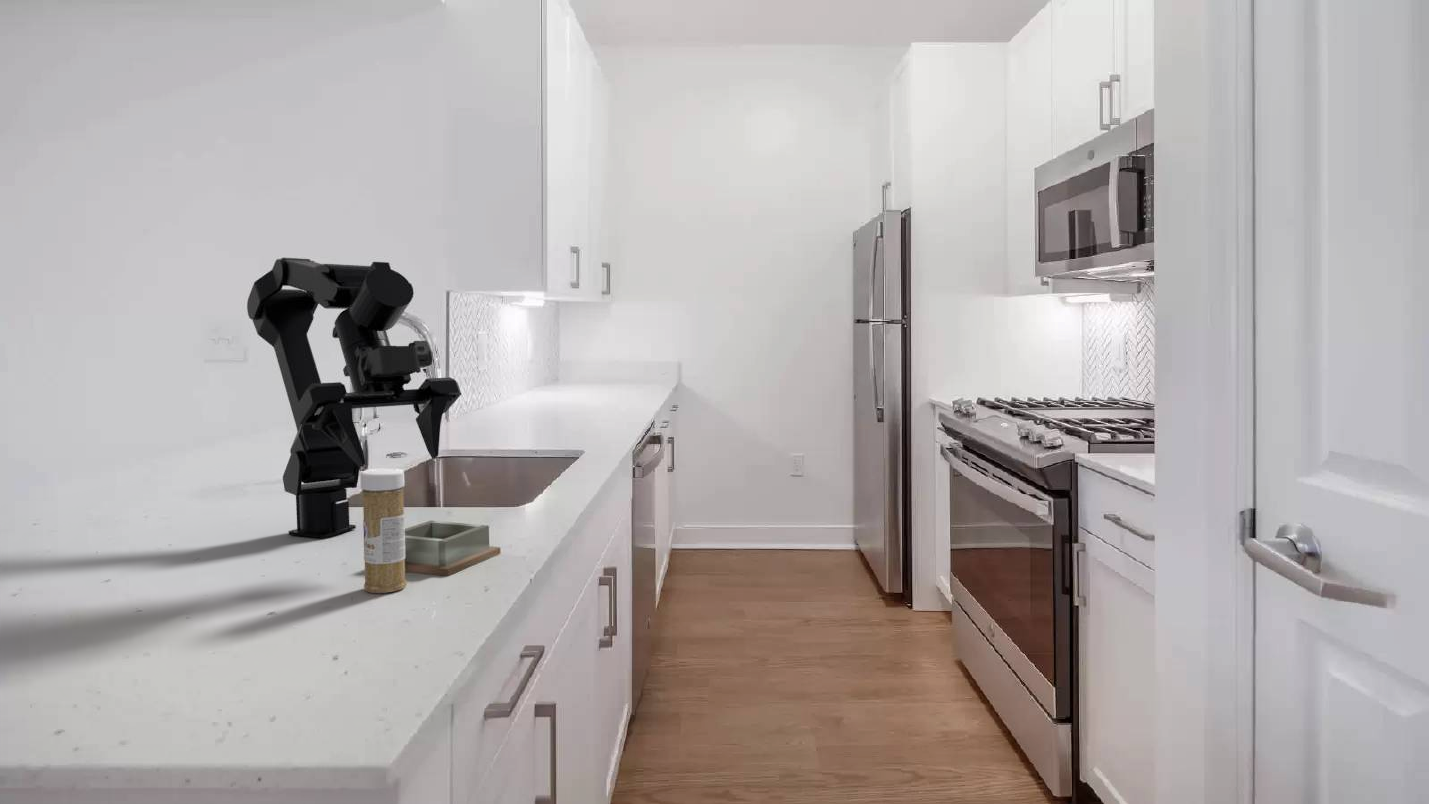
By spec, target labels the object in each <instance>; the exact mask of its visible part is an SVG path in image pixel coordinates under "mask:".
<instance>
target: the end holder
mask: <svg viewBox="0 0 1429 804" xmlns="http://www.w3.org/2000/svg"><path fill="white" fill-rule="evenodd" d="M500 554H501V547H500V546H493V545H490V525H488V524H487V525H486V524H474V523H466V522H465V523H463V522H453V521H452V522H451V521H442V520H440V521H439V520H428V521H424V522H422V523H419V524H416V525H415V524H414V525H413V526H409V527H407V528H405V572H409V573H418V574H429V575H436V576H444V577H448V576H452V575H453V574H456V573H458V572H461V571H463V570H466V569H467V568H470V567H472V566H474V565H477V564H479V563H481V562H484V561H487V560H488V559H491V558H493V557H496V556H498V555H500Z"/></svg>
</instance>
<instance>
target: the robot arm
mask: <svg viewBox="0 0 1429 804" xmlns="http://www.w3.org/2000/svg"><path fill="white" fill-rule="evenodd" d="M284 286H285V287H287V286H288V287H292V288H294V289H292V288H291V289H290V288H288V289H287V288H283V287H284ZM414 293H415V292H414V288H413V285H412V283H410V282H409V280H408V279H407V278H406V277H405V276H404V275H402V274H401V273H400V272H398V271H395V270H394V269H391V264H390V262H386V261H372V263H371V265H357V264H355V265H354V264H339V263H338V264H336V263H335V264H334V263H319V262H316V261H314V260H311V259H309V258H296V257H281V258H277V259H276V260H275V261H274V265H273V266H272V269H271V270H269V271H268V272H267V273H265V274H264V275H263V276H261V277H259V278H257V280H255V281H254V282H253V285H252V288H251V290H250V292H249V295H248V299H247V301H246V302H247V306H246V309H247V315H248V318H249V319H250V320H252V324H253V325H254V329H255V331H256V334H257V335H258V336H259V337H260V338H261V339H263V340H264V341H265V342H267V344H269V345H270V346H272V347H273V350H274V352H275V356H276V360H277V363H278V364H277V365H278V367H279V370H280V374H281V378H282V381H283V385H284V388H285V391H286V394H287V398H288V402H289V404H290V405H289V406H290V409H291V413H292V416H293V419H294V420H293V421H294V423H295V427H296V431H297V432H296V435H295V437H294V440H293V442H292V444H291V447H290V448H289V453H290V456H289V459H288V462H287V464H286V466H285V470H284V472H283V475H282V482H283V488H284V492H286V493H288V494H290V495H291V494H292V495H294V496H295V505H296V507H295V509H296V528H295V529H291V530H288V535H290V536H300V537H310V538H319V539H324V538H328V537H332V536H335V535H338V534H342V533H345V532H348V531H351V530H355V529H356V528H357V526H356V524H350V505H349V504H350V503H349V502H350V501H349V499H347V498H348V496H347V493H348V492H347V489H355V488H357V487H358V482H359V477H360V468H363V467H364V466H365V465H366V458H365V454H364V450H363V446H362V443H361V441H360V438H359V435H358V433H357V430H356V426H355V424H354V419H353V409H366V408H367V409H368V408H380V407H381V408H382V407H383V408H384V407H396V406H397V407H398V406H399V407H400V406H411V405H412V407H413V409H414V412H415V413H417V414H418V416H417V417H416V418H415V421H416V424H417V426H418V429H419V433H420V435H421V437H422V440H423V443H424V445H425V446H426V447H425V448H426V450H427V453H428V454H429V456H430V457H431V459H432V460H435V459H436V458H438V457H439V454H440V434H441V425H442V418H443V414H446V413H447V412H448V411H449V410H450V408H451V407H452V406H453V405H454V404H455V402H456V401H457V400H458V399H459V398H460V396H461V395H462V392H461V389H460V386H459V383H458V382H457V380H456V379H454V378H452V377H432V378H431V377H429V378H425V380H424V381H423V382H422V384H421V385H420V386H419V387H418V388H415V389H414V388H410V389H404V385H408V384H409V383H411V381H412V378H411V377H412V376H411V375H413V374H415V373H417V374H419V373H421V372H422V368H423V369H425V368H427V367H430V366H431V365H433V360H434V359H433V352H432V349H431V347H430V345H429V342H428V340H413V341H412V342H409V343H408V344H407V345H391V343H390V339H389V336H388V333H387V331H388V330H390V329H392V328H393V327H394V326H395V325H396V324H397V322H398V321H399V319H400V318H401V317H402V315H403V313H405V310H406V309H407V308H408V306H409V305H410V303H411V301H412V300H413V298H414ZM319 305H320V306H321V307H322V308H324V309H329V310H331V309H332V310H334V309H336V310H342V311H341V312H340V313H338V315H337V318H336V319H335V321H334V322H333V323H334V326H333V329H332V332H331V333H332V338H334V339H338V342H339V345H340V348H341V351H342V355H343V359H344V361H345V362H344V363H345V366H344V367H343V369H342V370H343V375H344V377H349V379H350V383H351V386H352V390H353V392H347V389H346V386H345V384H343V383H342V382H338V381H336V382H322V381H321V378H320V373H319V371H318V368H317V365H316V360H315V358H314V354H313V351H312V348H311V344H310V342H309V338H308V332H309V330H310V328H311V326H312V323H313V320H314V314H315V312H316V310H317V308H318V306H319ZM343 309H344V310H343Z"/></svg>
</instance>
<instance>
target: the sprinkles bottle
mask: <svg viewBox="0 0 1429 804" xmlns="http://www.w3.org/2000/svg"><path fill="white" fill-rule="evenodd" d="M404 487H405V472H404V470H403V469H401V468H396V467H381V468H380V467H379V468H372V469H366V470H363V471H362V472H361V473H360V488H361V492H362V503H363V504H362V506H363V507H362V509H363V519H362V525H363V560H364V580H365V581H364V584H363V588H364V590H365V592H368V593H372V594H387V593H393V592H397V591H401V590H402V589H404V588H405V587H406V586H407V580H406V571H405V529H406V528H405V527H406V526H405V525H406V524H405V523H406V522H405V512H404V511H405V510H404V509H405V508H404V507H405V506H404V490H405V488H404Z"/></svg>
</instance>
